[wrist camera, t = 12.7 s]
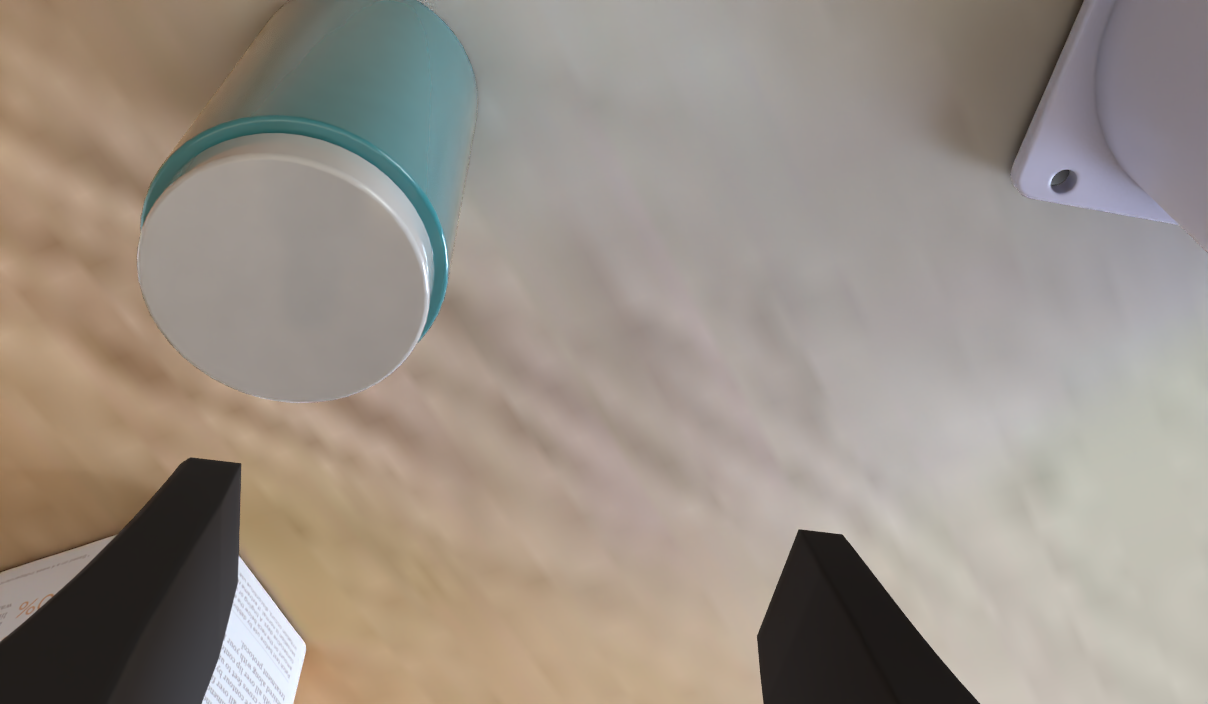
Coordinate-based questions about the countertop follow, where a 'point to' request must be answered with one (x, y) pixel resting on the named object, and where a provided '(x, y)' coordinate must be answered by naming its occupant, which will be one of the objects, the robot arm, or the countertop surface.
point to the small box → (250, 647)
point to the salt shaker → (314, 202)
